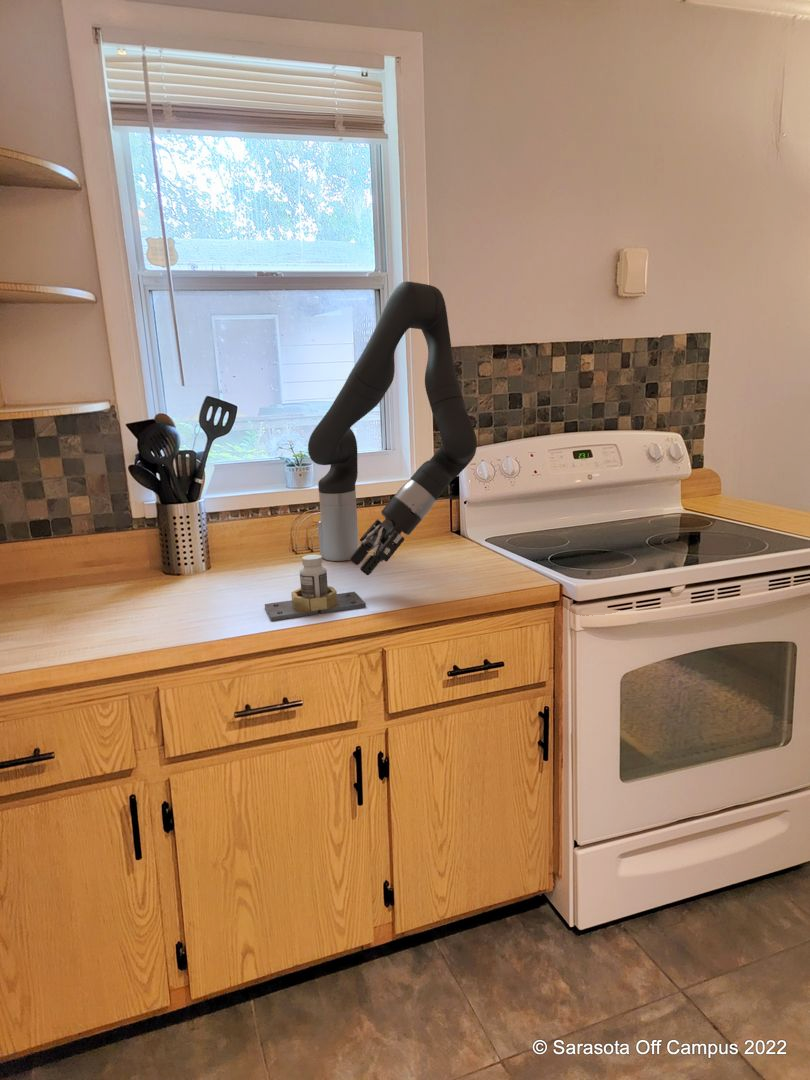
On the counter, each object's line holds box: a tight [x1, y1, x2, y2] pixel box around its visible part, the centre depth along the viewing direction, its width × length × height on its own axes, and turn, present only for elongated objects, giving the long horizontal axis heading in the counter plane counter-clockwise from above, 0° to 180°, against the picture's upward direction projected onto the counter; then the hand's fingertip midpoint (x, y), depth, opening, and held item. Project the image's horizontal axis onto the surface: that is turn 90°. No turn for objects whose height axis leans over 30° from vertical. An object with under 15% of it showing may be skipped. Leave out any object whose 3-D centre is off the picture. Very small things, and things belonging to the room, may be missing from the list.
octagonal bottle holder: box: [264, 585, 367, 622], centre depth 146 cm, size 19×9×3 cm, turn 109°
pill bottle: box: [299, 554, 329, 598], centre depth 146 cm, size 5×5×10 cm
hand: (358, 567), depth 148 cm, fingers open, 8 cm apart
